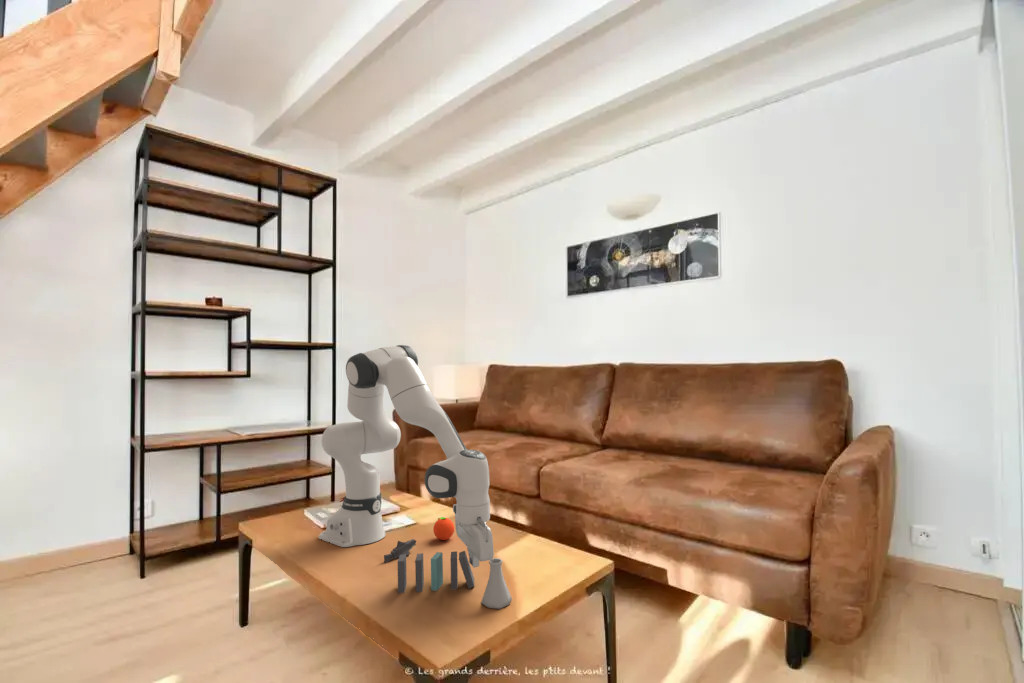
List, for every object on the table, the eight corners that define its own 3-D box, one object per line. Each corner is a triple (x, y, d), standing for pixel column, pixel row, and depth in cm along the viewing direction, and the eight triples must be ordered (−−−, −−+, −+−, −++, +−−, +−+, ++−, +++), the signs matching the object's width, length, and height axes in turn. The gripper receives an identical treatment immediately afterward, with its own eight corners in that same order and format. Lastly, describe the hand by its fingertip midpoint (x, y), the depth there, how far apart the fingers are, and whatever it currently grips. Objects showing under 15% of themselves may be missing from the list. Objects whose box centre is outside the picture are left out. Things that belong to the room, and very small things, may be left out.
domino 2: (415, 592, 124) (415, 560, 124) (417, 584, 129) (417, 553, 129) (422, 591, 124) (421, 560, 125) (423, 583, 129) (423, 553, 129)
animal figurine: (390, 569, 141) (387, 552, 141) (381, 565, 144) (378, 549, 144) (421, 548, 151) (418, 533, 150) (412, 545, 153) (409, 530, 153)
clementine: (428, 538, 161) (428, 516, 162) (446, 533, 166) (446, 512, 166) (439, 545, 155) (439, 522, 155) (458, 539, 159) (458, 518, 159)
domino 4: (451, 589, 125) (450, 558, 125) (451, 582, 129) (451, 551, 130) (457, 589, 125) (456, 558, 125) (457, 581, 130) (457, 551, 130)
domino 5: (468, 588, 125) (458, 559, 125) (468, 580, 130) (459, 552, 130) (474, 586, 126) (464, 557, 126) (474, 578, 130) (464, 550, 130)
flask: (500, 612, 113) (500, 569, 114) (475, 605, 117) (475, 563, 118) (516, 599, 120) (515, 558, 120) (492, 592, 123) (491, 552, 124)
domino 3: (431, 590, 125) (430, 558, 125) (437, 582, 129) (436, 552, 130) (437, 590, 125) (436, 559, 125) (443, 582, 129) (442, 552, 129)
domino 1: (398, 593, 124) (397, 561, 124) (400, 585, 128) (400, 554, 128) (404, 592, 124) (403, 561, 124) (406, 584, 128) (406, 554, 129)
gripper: (499, 522, 120) (500, 578, 120) (472, 500, 139) (473, 549, 139) (475, 526, 118) (476, 584, 117) (451, 503, 136) (451, 553, 136)
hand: (474, 565), depth 128 cm, fingers closed
